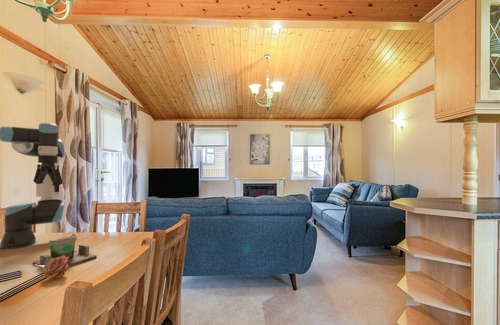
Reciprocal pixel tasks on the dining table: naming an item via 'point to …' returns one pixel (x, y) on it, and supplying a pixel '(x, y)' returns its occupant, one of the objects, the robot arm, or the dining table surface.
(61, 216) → the robot arm
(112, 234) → the dining table surface
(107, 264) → the dining table surface
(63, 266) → the flower
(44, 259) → the base
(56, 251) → the food container
